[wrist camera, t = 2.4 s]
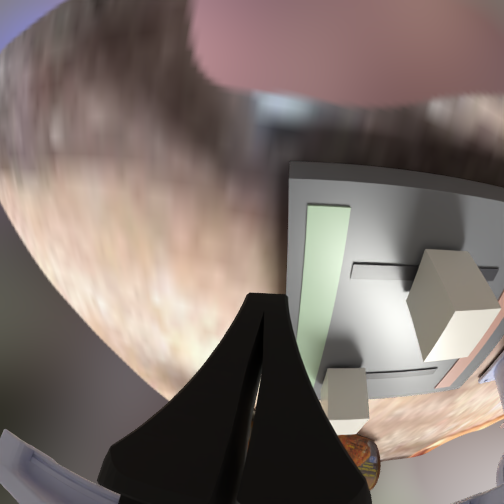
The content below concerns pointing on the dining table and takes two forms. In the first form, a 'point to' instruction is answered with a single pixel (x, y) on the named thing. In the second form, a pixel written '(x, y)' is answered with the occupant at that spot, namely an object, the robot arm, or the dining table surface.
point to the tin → (363, 456)
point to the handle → (345, 399)
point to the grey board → (382, 268)
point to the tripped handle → (450, 305)
